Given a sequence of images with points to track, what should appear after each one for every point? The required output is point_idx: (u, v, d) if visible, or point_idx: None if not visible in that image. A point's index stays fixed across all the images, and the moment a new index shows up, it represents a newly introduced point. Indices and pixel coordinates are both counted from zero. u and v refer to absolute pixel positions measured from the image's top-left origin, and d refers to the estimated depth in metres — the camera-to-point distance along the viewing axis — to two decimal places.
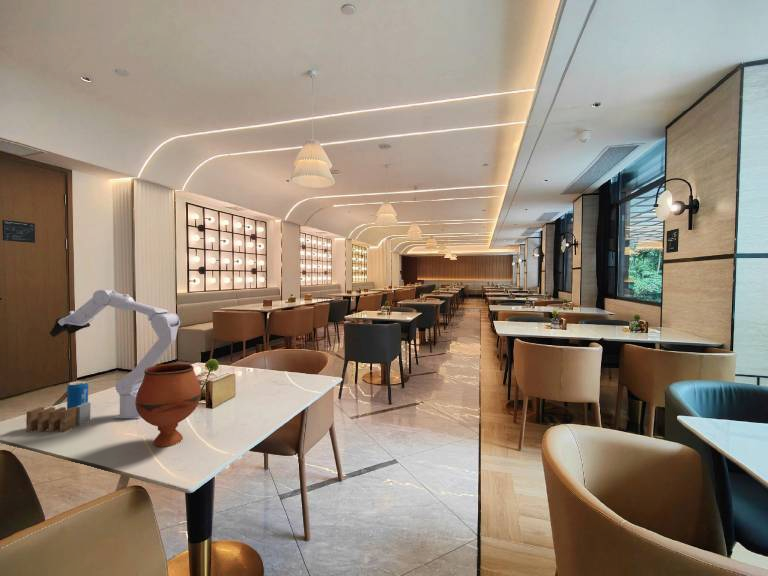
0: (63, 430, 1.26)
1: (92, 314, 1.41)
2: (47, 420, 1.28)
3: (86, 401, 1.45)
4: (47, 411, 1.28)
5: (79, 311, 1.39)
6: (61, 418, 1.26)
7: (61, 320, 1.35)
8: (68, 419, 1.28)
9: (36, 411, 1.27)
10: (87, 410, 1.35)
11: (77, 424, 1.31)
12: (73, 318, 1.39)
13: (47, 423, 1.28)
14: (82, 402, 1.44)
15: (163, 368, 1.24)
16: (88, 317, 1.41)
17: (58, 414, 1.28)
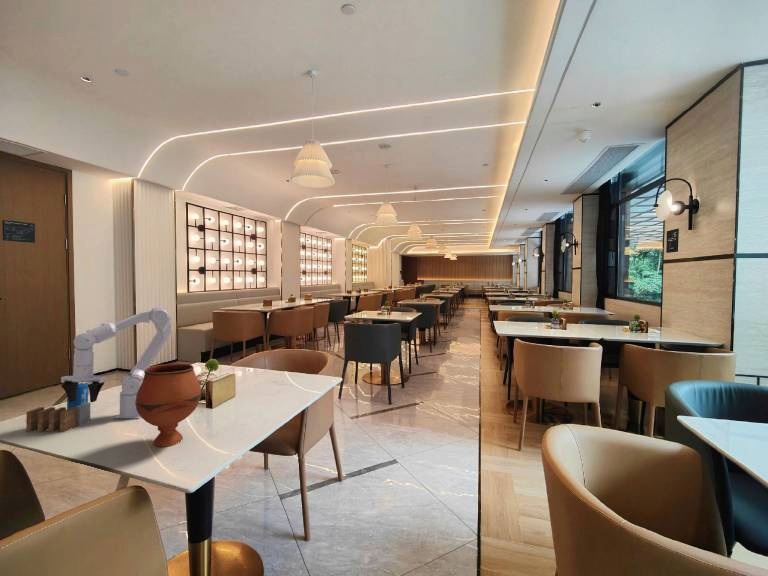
0: (63, 430, 1.26)
1: (92, 361, 1.34)
2: (47, 420, 1.28)
3: (86, 401, 1.45)
4: (47, 411, 1.28)
5: (89, 367, 1.33)
6: (61, 418, 1.26)
7: (102, 378, 1.34)
8: (68, 419, 1.28)
9: (36, 411, 1.27)
10: (87, 409, 1.35)
11: (77, 424, 1.31)
12: (91, 376, 1.34)
13: (47, 423, 1.28)
14: (82, 402, 1.44)
15: (163, 368, 1.24)
16: None
17: (58, 414, 1.28)
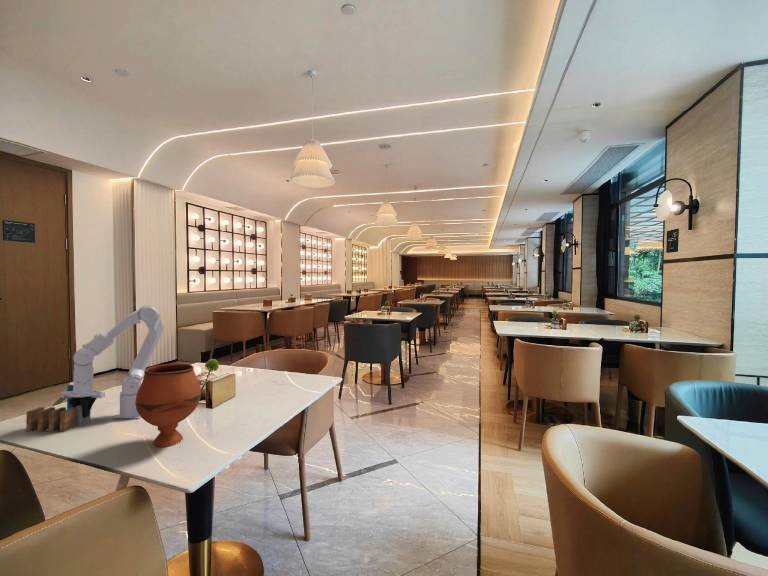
0: (63, 430, 1.26)
1: (92, 376, 1.35)
2: (47, 420, 1.28)
3: None
4: (47, 411, 1.28)
5: (89, 382, 1.33)
6: (61, 418, 1.26)
7: (102, 394, 1.34)
8: (68, 419, 1.28)
9: (36, 411, 1.27)
10: None
11: (77, 424, 1.31)
12: (90, 391, 1.34)
13: (47, 423, 1.28)
14: None
15: (163, 368, 1.24)
16: None
17: (58, 414, 1.28)
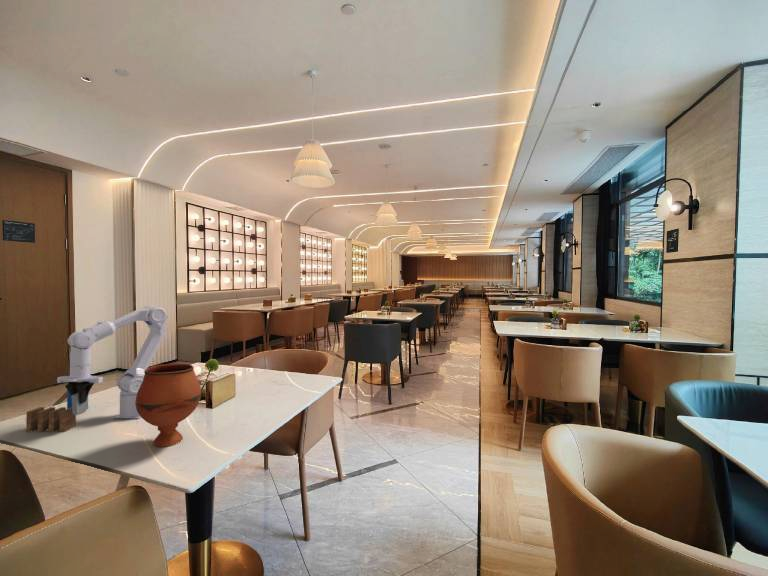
0: (63, 430, 1.26)
1: (90, 360, 1.31)
2: (47, 420, 1.28)
3: None
4: (47, 411, 1.28)
5: (86, 367, 1.28)
6: (60, 418, 1.26)
7: (99, 378, 1.29)
8: (68, 419, 1.28)
9: (36, 411, 1.27)
10: None
11: (75, 412, 1.27)
12: (87, 376, 1.29)
13: (47, 423, 1.28)
14: None
15: (163, 368, 1.24)
16: None
17: (58, 414, 1.28)
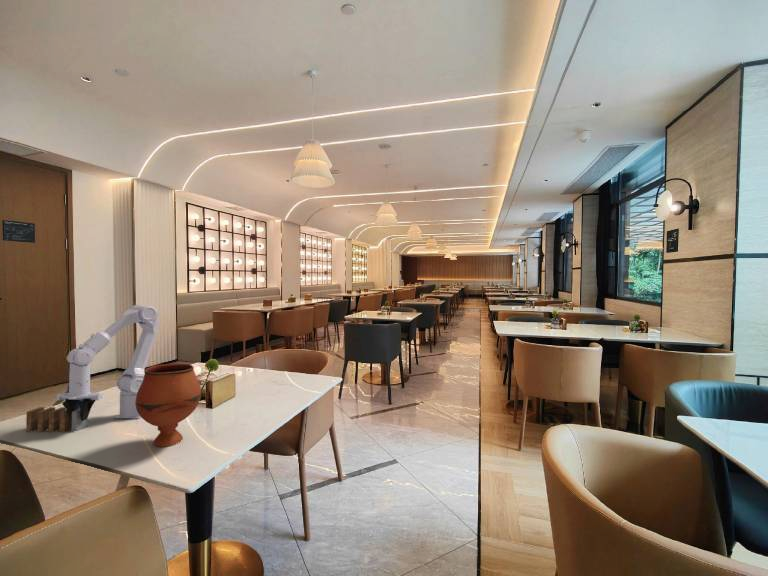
0: (63, 430, 1.26)
1: (89, 376, 1.30)
2: (47, 420, 1.28)
3: None
4: (47, 411, 1.28)
5: (85, 384, 1.28)
6: (61, 418, 1.26)
7: (99, 395, 1.28)
8: (68, 419, 1.28)
9: (36, 411, 1.27)
10: None
11: (74, 430, 1.26)
12: (87, 393, 1.28)
13: (47, 423, 1.28)
14: None
15: (163, 368, 1.24)
16: None
17: (58, 414, 1.28)
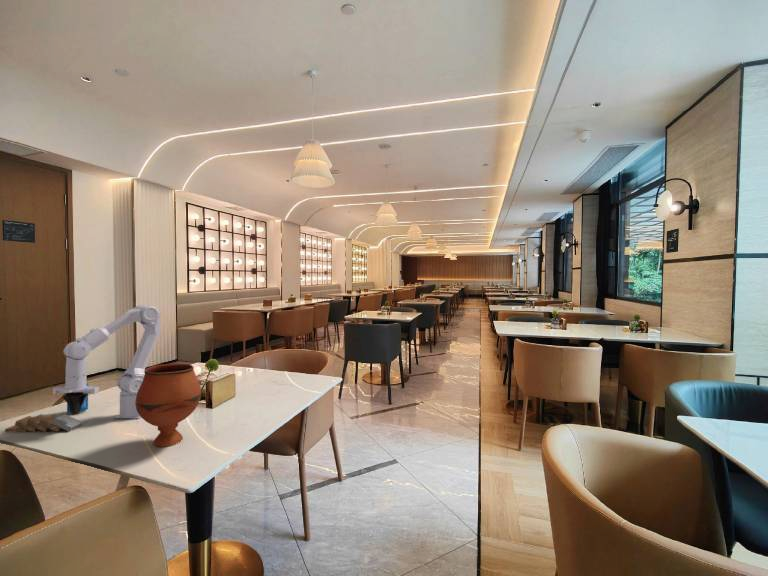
0: (57, 428, 1.26)
1: (86, 370, 1.30)
2: None
3: (86, 401, 1.45)
4: (22, 419, 1.27)
5: (82, 377, 1.28)
6: (45, 425, 1.26)
7: (95, 389, 1.28)
8: None
9: (12, 426, 1.27)
10: (68, 418, 1.30)
11: (69, 428, 1.26)
12: (83, 386, 1.28)
13: None
14: None
15: (163, 368, 1.24)
16: None
17: (37, 419, 1.27)
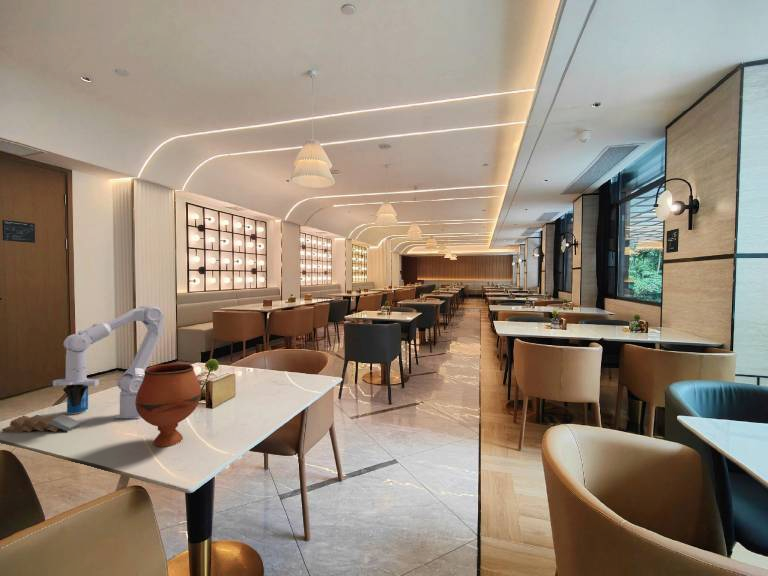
0: (56, 428, 1.26)
1: (86, 363, 1.30)
2: None
3: (86, 401, 1.45)
4: (17, 419, 1.26)
5: (82, 370, 1.28)
6: (43, 425, 1.25)
7: (96, 381, 1.28)
8: None
9: (9, 426, 1.27)
10: (66, 418, 1.30)
11: (67, 429, 1.26)
12: (84, 379, 1.28)
13: None
14: (82, 402, 1.44)
15: (163, 368, 1.24)
16: None
17: (34, 419, 1.27)
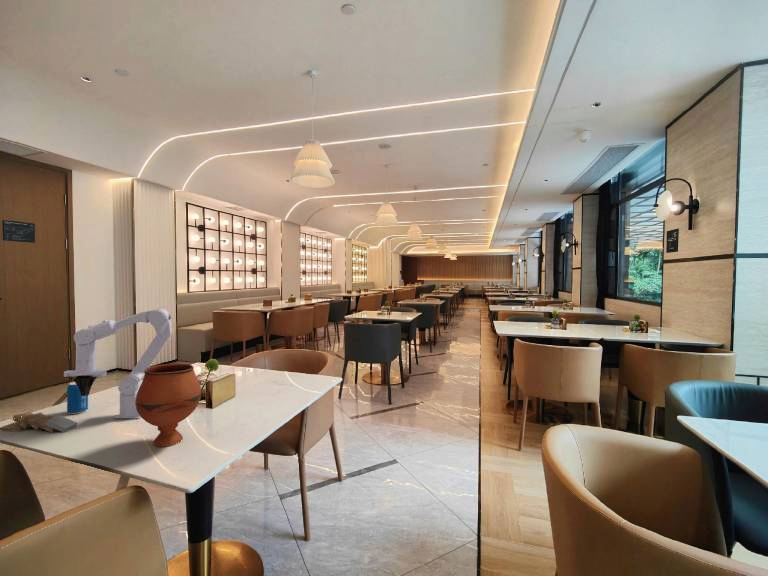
0: (51, 428, 1.25)
1: (92, 356, 1.37)
2: None
3: (86, 401, 1.45)
4: (21, 414, 1.30)
5: (91, 362, 1.37)
6: (40, 426, 1.26)
7: (104, 373, 1.37)
8: None
9: (6, 425, 1.28)
10: (63, 419, 1.29)
11: (63, 429, 1.25)
12: (92, 370, 1.37)
13: None
14: (82, 402, 1.44)
15: (163, 368, 1.24)
16: None
17: (34, 416, 1.29)
